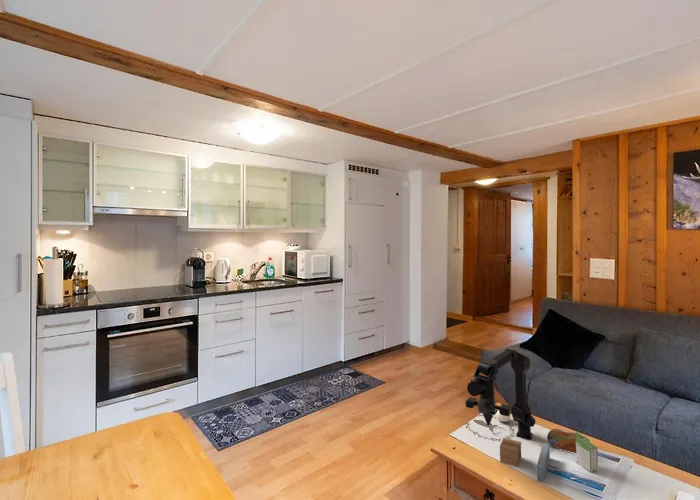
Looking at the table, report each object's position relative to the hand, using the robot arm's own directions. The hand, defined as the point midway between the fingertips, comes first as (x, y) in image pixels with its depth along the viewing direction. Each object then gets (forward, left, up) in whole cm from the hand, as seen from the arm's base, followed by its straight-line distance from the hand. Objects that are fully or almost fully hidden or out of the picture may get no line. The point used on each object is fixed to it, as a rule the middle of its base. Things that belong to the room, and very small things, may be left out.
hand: (488, 425), depth 162 cm
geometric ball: (-35, -2, -13) cm, 37 cm away
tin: (-21, +28, -13) cm, 38 cm away
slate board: (0, +22, -13) cm, 25 cm away
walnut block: (0, +9, -13) cm, 16 cm away
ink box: (-11, +36, -13) cm, 40 cm away
